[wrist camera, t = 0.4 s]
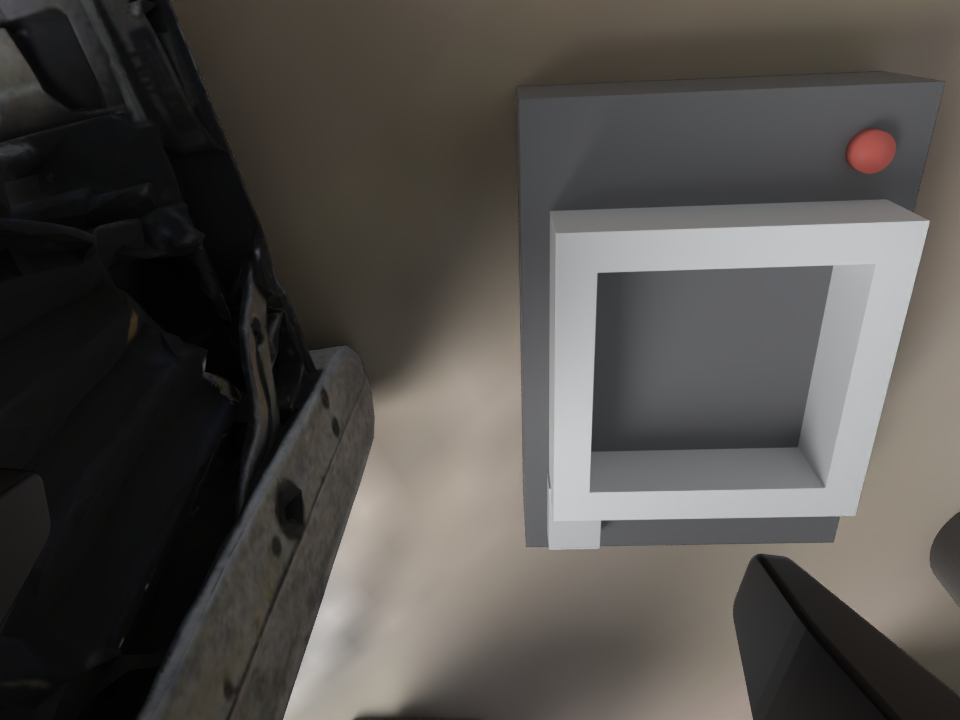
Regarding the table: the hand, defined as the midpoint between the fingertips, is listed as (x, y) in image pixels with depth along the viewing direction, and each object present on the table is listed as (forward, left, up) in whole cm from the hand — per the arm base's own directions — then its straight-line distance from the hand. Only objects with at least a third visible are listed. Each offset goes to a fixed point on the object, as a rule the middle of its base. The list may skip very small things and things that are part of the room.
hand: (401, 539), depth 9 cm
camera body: (-3, -7, -14) cm, 16 cm away
